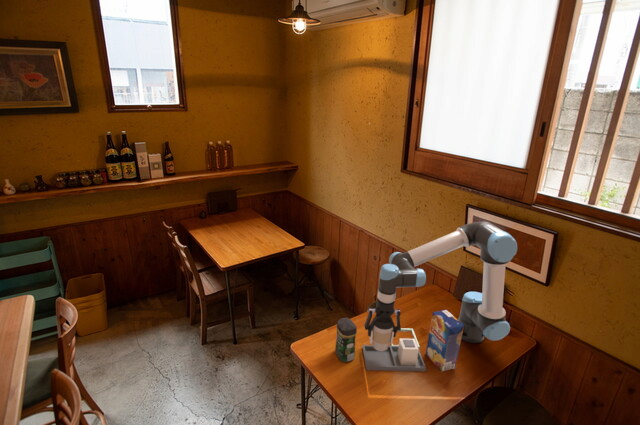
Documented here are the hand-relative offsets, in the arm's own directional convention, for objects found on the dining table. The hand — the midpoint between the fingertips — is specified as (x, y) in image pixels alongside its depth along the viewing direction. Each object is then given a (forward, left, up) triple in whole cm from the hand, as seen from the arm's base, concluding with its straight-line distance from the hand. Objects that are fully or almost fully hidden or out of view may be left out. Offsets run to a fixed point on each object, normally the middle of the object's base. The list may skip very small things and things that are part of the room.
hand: (380, 341), depth 159 cm
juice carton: (-29, 0, -11) cm, 30 cm away
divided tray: (-7, 0, -11) cm, 13 cm away
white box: (-13, 0, -10) cm, 16 cm away
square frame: (-15, -15, -11) cm, 23 cm away
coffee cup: (0, 0, -3) cm, 3 cm away
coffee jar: (+15, -3, -11) cm, 19 cm away
